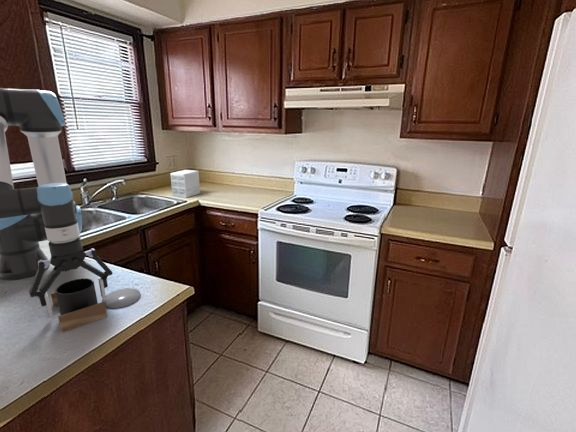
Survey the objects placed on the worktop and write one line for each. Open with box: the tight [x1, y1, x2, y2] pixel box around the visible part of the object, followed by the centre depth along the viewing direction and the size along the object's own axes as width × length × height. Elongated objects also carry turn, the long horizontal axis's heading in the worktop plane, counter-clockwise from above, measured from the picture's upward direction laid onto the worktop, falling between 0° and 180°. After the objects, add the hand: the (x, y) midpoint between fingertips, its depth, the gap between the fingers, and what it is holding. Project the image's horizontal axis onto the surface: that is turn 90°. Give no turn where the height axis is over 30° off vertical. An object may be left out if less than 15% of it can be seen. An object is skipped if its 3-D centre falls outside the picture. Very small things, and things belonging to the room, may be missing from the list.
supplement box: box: [169, 169, 201, 199], centre depth 239 cm, size 17×13×18 cm
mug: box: [54, 277, 99, 316], centre depth 93 cm, size 9×12×9 cm
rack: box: [50, 291, 108, 333], centre depth 94 cm, size 17×11×4 cm, turn 42°
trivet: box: [101, 287, 141, 309], centre depth 101 cm, size 11×11×1 cm
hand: (78, 305), depth 94 cm, fingers open, 13 cm apart
